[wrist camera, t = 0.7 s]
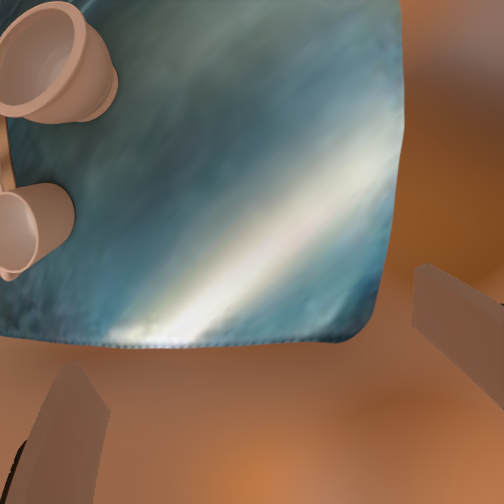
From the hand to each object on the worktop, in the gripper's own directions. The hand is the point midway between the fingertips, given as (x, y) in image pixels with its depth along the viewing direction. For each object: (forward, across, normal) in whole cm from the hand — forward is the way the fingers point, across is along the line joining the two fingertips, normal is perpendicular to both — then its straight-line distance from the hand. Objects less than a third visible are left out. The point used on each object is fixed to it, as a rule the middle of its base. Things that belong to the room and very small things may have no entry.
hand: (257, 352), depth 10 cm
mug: (+27, -22, +5) cm, 35 cm away
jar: (+27, -12, +20) cm, 35 cm away
